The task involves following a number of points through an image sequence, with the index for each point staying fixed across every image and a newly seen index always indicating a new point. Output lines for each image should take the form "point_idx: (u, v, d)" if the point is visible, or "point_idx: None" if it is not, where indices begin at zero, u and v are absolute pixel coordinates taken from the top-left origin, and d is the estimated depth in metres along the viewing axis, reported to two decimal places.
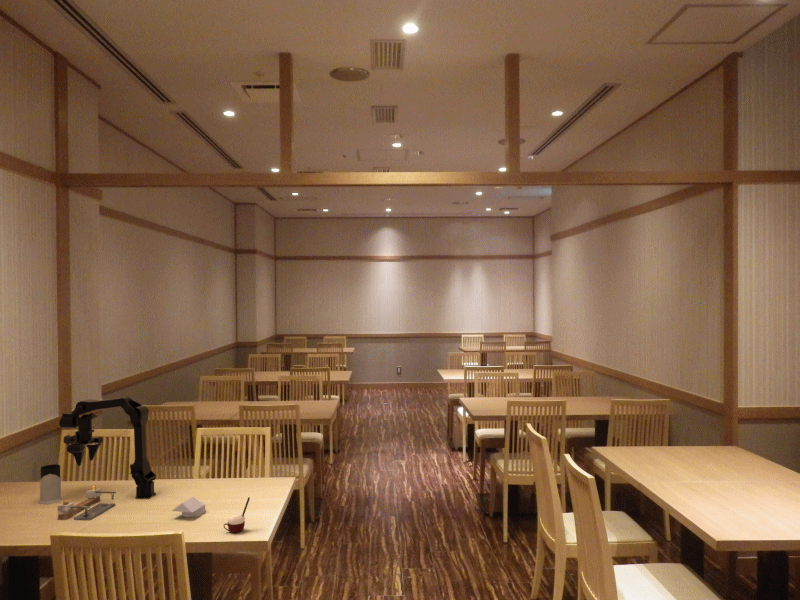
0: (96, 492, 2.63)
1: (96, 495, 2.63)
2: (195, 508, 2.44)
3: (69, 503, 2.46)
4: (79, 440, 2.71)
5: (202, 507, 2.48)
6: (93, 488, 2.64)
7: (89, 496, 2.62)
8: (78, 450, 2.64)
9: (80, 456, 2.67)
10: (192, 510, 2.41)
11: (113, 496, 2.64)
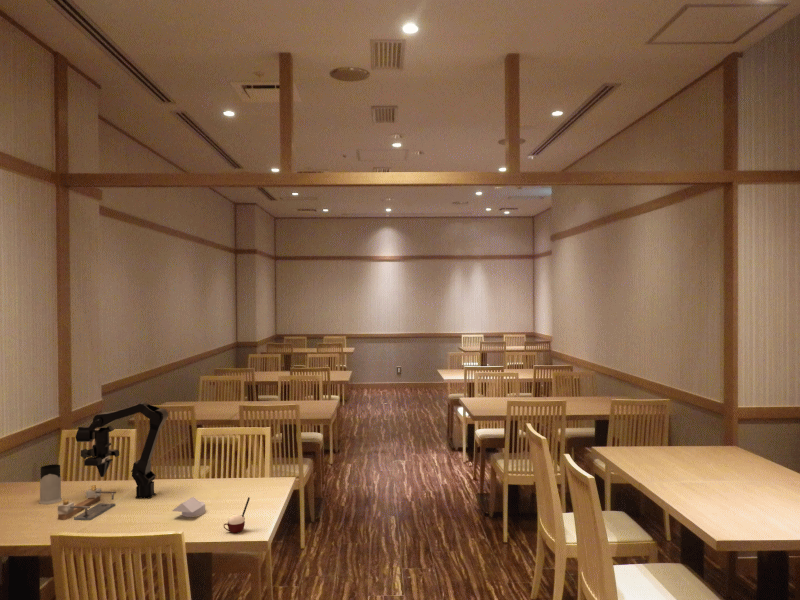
0: (96, 492, 2.63)
1: (96, 495, 2.63)
2: (195, 508, 2.44)
3: (69, 503, 2.46)
4: (96, 454, 2.69)
5: (202, 507, 2.48)
6: (93, 488, 2.64)
7: (89, 496, 2.62)
8: (96, 464, 2.62)
9: (103, 467, 2.69)
10: (192, 510, 2.41)
11: (113, 496, 2.64)
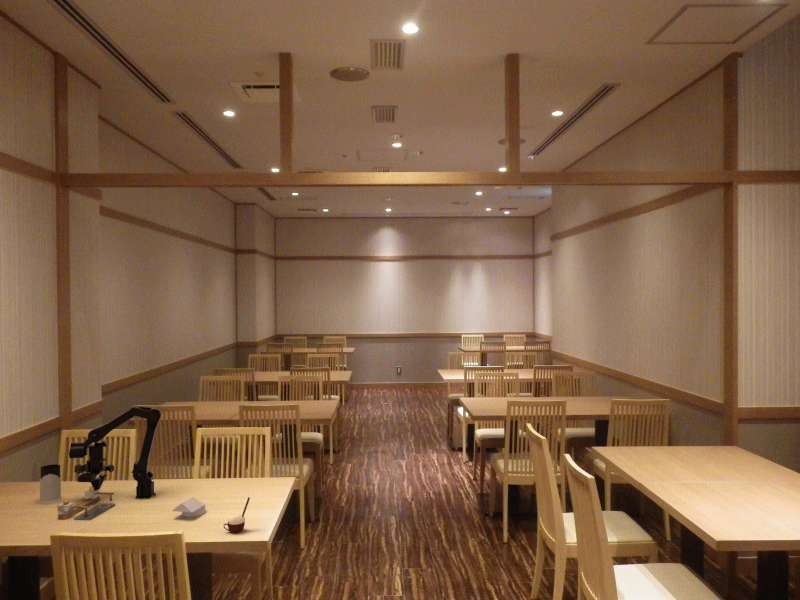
0: (94, 493, 2.62)
1: (94, 496, 2.62)
2: (195, 508, 2.44)
3: (69, 503, 2.46)
4: (90, 469, 2.64)
5: (202, 507, 2.48)
6: (91, 489, 2.62)
7: (87, 497, 2.61)
8: (89, 480, 2.57)
9: (97, 483, 2.65)
10: (192, 510, 2.41)
11: (111, 497, 2.62)
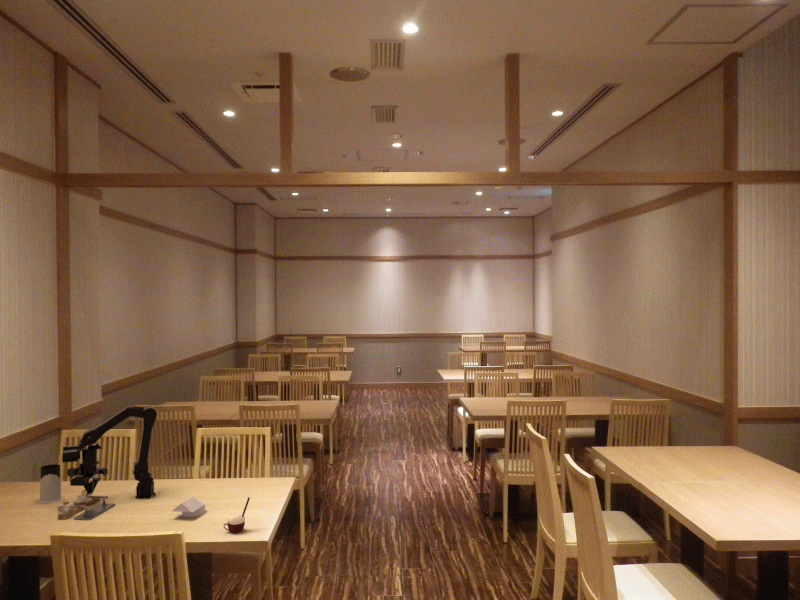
0: (87, 497, 2.56)
1: (87, 500, 2.56)
2: (195, 508, 2.44)
3: (69, 503, 2.46)
4: (83, 473, 2.59)
5: (202, 507, 2.48)
6: (84, 493, 2.57)
7: (80, 501, 2.56)
8: (82, 484, 2.52)
9: (90, 487, 2.60)
10: (192, 510, 2.41)
11: None
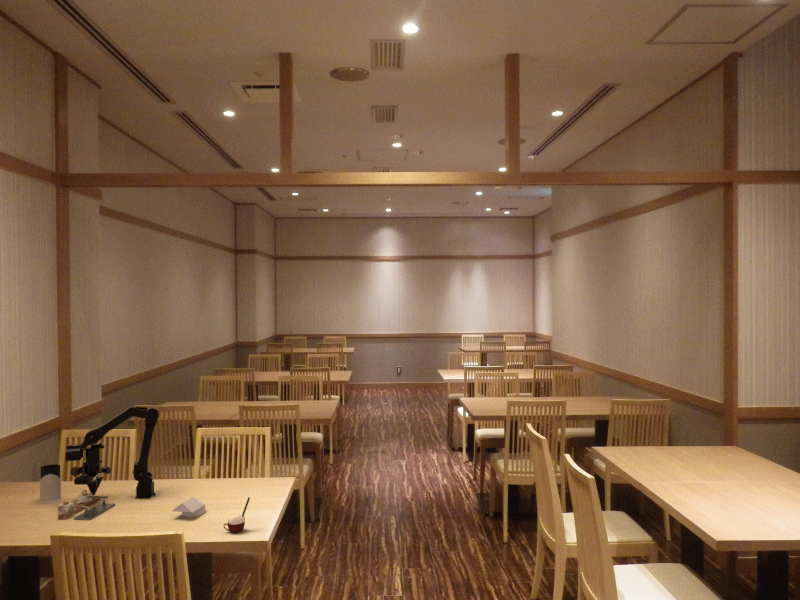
0: (87, 497, 2.56)
1: (87, 500, 2.56)
2: (195, 508, 2.44)
3: (69, 503, 2.46)
4: (87, 472, 2.61)
5: (202, 507, 2.48)
6: (84, 493, 2.57)
7: (80, 501, 2.56)
8: (86, 483, 2.55)
9: (94, 486, 2.62)
10: (192, 510, 2.41)
11: (104, 501, 2.57)
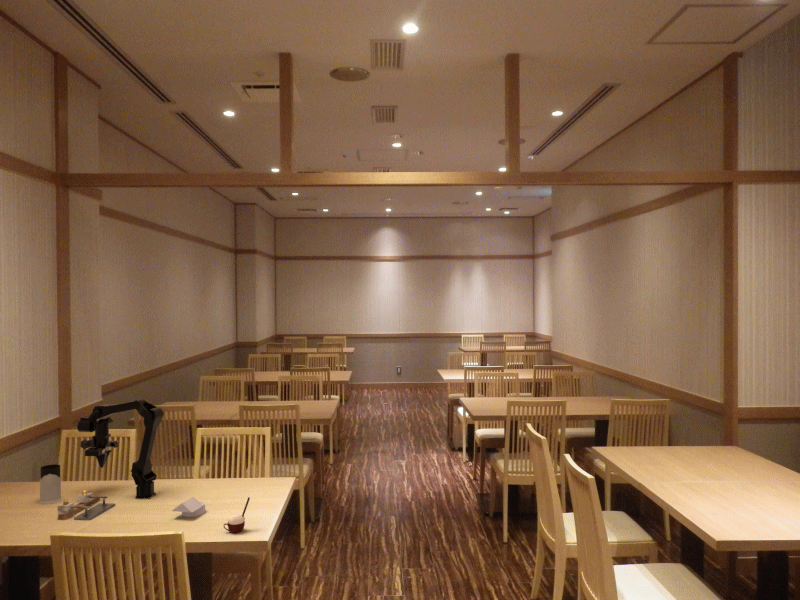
0: (87, 497, 2.56)
1: (87, 500, 2.56)
2: (195, 508, 2.44)
3: (69, 503, 2.46)
4: (96, 444, 2.72)
5: (202, 507, 2.48)
6: (84, 493, 2.57)
7: (80, 501, 2.56)
8: (96, 454, 2.66)
9: (103, 458, 2.73)
10: (192, 510, 2.41)
11: (104, 501, 2.57)
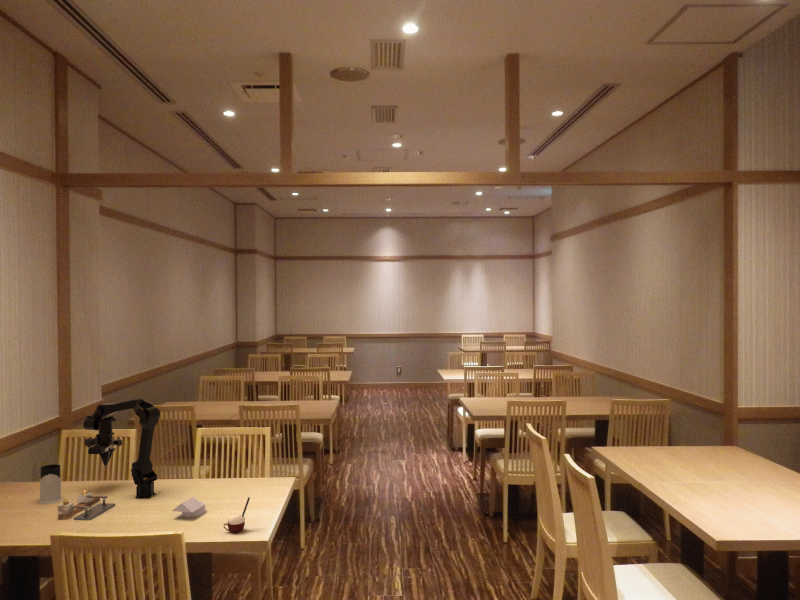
0: (87, 497, 2.56)
1: (87, 500, 2.56)
2: (195, 508, 2.44)
3: (69, 503, 2.46)
4: (100, 443, 2.77)
5: (202, 507, 2.48)
6: (84, 493, 2.57)
7: (80, 501, 2.56)
8: (99, 452, 2.70)
9: (106, 456, 2.77)
10: (192, 510, 2.41)
11: (104, 501, 2.57)
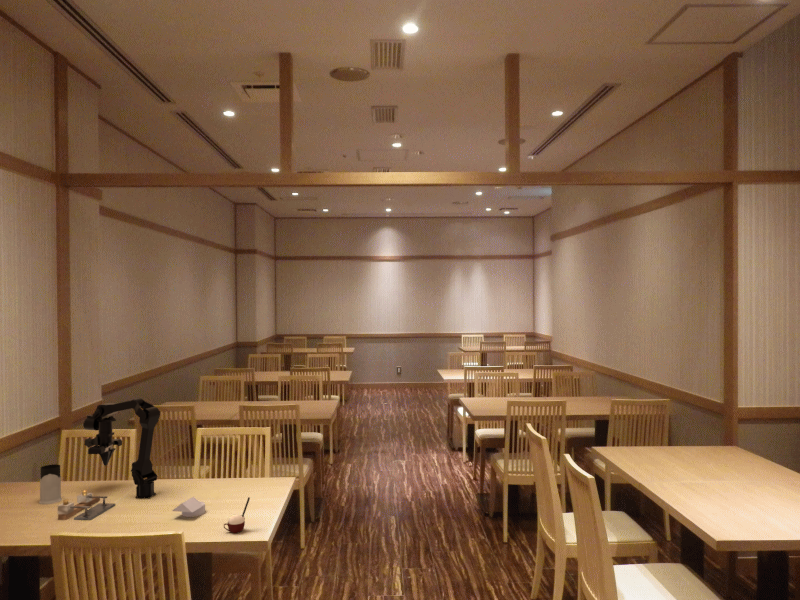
0: (87, 497, 2.56)
1: (87, 500, 2.56)
2: (195, 508, 2.44)
3: (69, 503, 2.46)
4: (100, 443, 2.77)
5: (202, 507, 2.48)
6: (84, 493, 2.57)
7: (80, 501, 2.56)
8: (99, 452, 2.70)
9: (106, 456, 2.77)
10: (192, 510, 2.41)
11: (104, 501, 2.57)
